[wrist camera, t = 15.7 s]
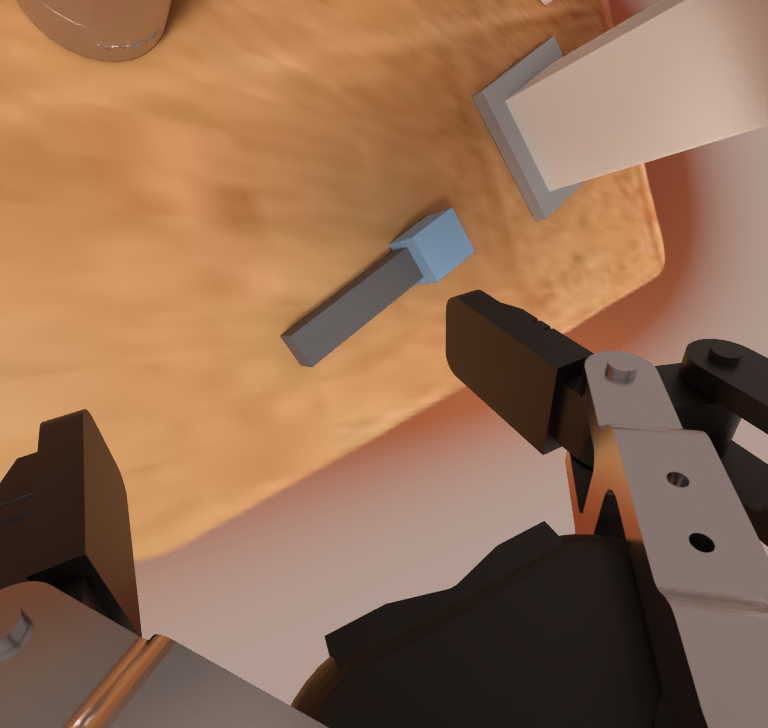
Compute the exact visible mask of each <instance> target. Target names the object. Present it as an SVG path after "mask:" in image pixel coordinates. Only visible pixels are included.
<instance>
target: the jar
mask: <svg viewBox="0 0 768 728" xmlns="http://www.w3.org/2000/svg"><path fill="white" fill-rule="evenodd" d="M540 1H541V2H542V3H543V4H544V5H547V4H549V3H550V2H552V1H553V0H540Z"/></svg>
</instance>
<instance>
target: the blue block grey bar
mask: <svg viewBox="0 0 768 728" xmlns="http://www.w3.org/2000/svg"><path fill="white" fill-rule="evenodd" d="M389 246H390V247H391V249H392V252H391V253H390V254H388V255H387V256H386V257H384V258H383V259H382V260H380V261H379V262H378V263H376V264H375V265H374V266H372V267H371V268H370V269H368V270H367V271H366V272H364V273H363V274H362V275H360V276H359V277H358V278H356V279H355V280H354V281H353V282H351V283H350V284H349V285H347V286H346V287H345V288H343V289H342V290H341V291H339V292H338V293H337V294H335V295H334V296H333V297H331V298H330V299H329V300H327V301H326V302H325V303H323V304H322V305H321V306H319V307H318V308H317V309H316V310H314V311H313V312H312V313H310V314H309V315H308V316H306V317H305V318H304V319H302V320H301V321H300V322H298V323H297V324H296V325H294V326H293V327H292V328H290V329H289V330H288V331H286V332H285V333H284V334H283V335H281V336H280V337H281V338H282V339H283V341H284V342H285V344H286V345H287V346H288V348H289V349H290V351H291V352H292V353H293V355H294V356H295V358H296V359H297V360H298V362H299V363H300V365H301V366H307V367H313V366H314V365H315V364H317V363H318V362H319V361H320V360H322V359H323V358H324V357H325V356H327V355H328V354H329V353H330V352H332V351H333V350H334V349H335V348H336V347H338V346H339V345H340V344H341V343H343V342H344V341H345V340H346V339H348V338H349V337H350V336H351V335H353V334H354V333H355V332H356V331H358V330H359V329H360V328H361V327H362V326H364V325H365V324H366V323H367V322H369V321H370V320H371V319H372V318H374V317H375V316H376V315H377V314H379V313H380V312H381V311H382V310H384V309H385V308H386V307H387V306H388V305H390V304H391V303H392V302H393V301H395V300H396V299H397V298H398V297H400V296H401V295H402V294H403V293H405V292H406V291H407V290H408V289H409V288H411V287H412V286H414V285H421V284H428V283H435V282H438V281H440V280H441V279H442V278H443V277H444V276H446V275H447V274H448V273H449V272H450V271H452V270H453V269H454V268H455V267H457V266H458V265H459V264H460V263H461V262H463V261H464V260H465V259H466V258H467V257H469V256H470V255H471V254H472V253H474V252H475V250H474V248H473V246H472V244H471V242H470V240H469V239H468V237H467V235H466V233H465V231H464V229H463V227H462V225H461V223H460V221H459V219H458V217H457V215H456V214H455V212H454V210H453V208H452V207H451V208H448V209H445V210H443V211H440V212H437V213H434V214H431V215H428V216H426V217H425V218H423V219H422V220H421V221H419V222H418V223H417V224H415V225H414V226H413V227H411V228H410V229H409V230H407V231H406V232H405V233H403V234H402V235H401V236H399V237H398V238H397V239H395V240H394V241H393V242H391V243H390V244H389Z"/></svg>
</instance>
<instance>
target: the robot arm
mask: <svg viewBox="0 0 768 728" xmlns="http://www.w3.org/2000/svg"><path fill="white" fill-rule="evenodd" d="M17 1H18V3H19V4H20V6H21V8H22V9H23V11H24V12H25V13H26V15H27V16H28V17H29V18H30V19H31V21H32V22H33V23H34V24H35V25H36V26H37V27H38V28H39V29H40V30H41V31H42V32H44V33H45V34H46V35H47V36H48V37H49V38H50V39H52V40H53V41H55V42H56V43H58V44H60V45H61V46H63V47H64V48H66V49H68V50H70V51H72V52H74V53H77V54H79V55H81V56H84V57H87V58H91V59H95V60H99V61H112V62H119V61H125V60H131V59H134V58H136V57H139V56H141V55H143V54H145V53H146V52H148V51H149V50H150V49H151V48H153V47H154V46H155V45H156V43H157V42H158V40H159V39H160V38H161V36H162V34H163V31H164V29H165V26H166V23H167V18H168V14H169V9H170V5H171V1H172V0H17ZM446 358H447V361H448V364H449V367H450V369H451V370H452V372H453V373H454V375H455V376H456V377H457V378H459V379H460V380H461V381H462V382H463V383H464V384H465V385H466V386H467V387H468V388H470V389H471V390H472V391H473V392H474V393H475V394H476V395H477V396H478V397H479V398H481V399H482V400H483V401H484V402H485V403H486V404H487V405H488V406H489V407H491V408H492V409H493V410H494V411H495V412H496V413H497V414H498V415H499V416H501V417H502V418H503V419H504V420H505V421H506V422H507V423H508V424H509V425H510V426H512V427H513V428H514V429H515V430H516V431H517V432H518V433H519V434H520V435H521V436H523V437H524V438H525V439H526V440H527V441H528V442H529V443H530V444H531V445H532V446H534V447H535V448H536V449H537V450H538V451H539V452H540V453H541V454H543V455H544V454H546V453H548V452H551V451H553V450H555V449H557V448H559V447H562V446H563V447H564V448H565V449H566V450H567V454H566V459H565V464H566V471H567V478H568V484H569V491H570V498H571V504H572V511H573V518H574V524H575V534H572V535H561V536H558V535H557V534H556V533H555V532H554V531H553V529H552V528H551V527H550V526H549V525H548V524H547V523H546V522H545V521H544V522H542V523H540V524H538V525H536V526H534V527H532V528H530V529H528V530H526V531H524V532H522V533H521V534H519V535H517V536H515V537H513V538H511V539H509V540H507V541H505V542H503V543H501V544H500V545H498V546H497V547H495V548H494V549H493V550H492V551H491V552H490V553H489V554H488V555H487V556H486V557H485V558H484V559H483V560H482V561H481V562H480V563H479V564H478V565H477V566H476V567H475V568H474V569H473V570H472V571H471V572H470V573H469V574H467V576H465V577H464V578H463V579H462V580H461V581H460V582H459V583H458V584H457V585H456V586H454V587H452V588H450V589H447V590H443V591H439V592H434V593H430V594H426V595H422V596H418V597H413V598H409V599H405V600H401V601H396V602H392V603H388V604H385V605H383V606H382V607H379V608H377V609H375V610H373V611H372V612H370V613H368V614H366V615H364V616H362V617H360V618H358V619H356V620H354V621H353V622H351V623H349V624H347V625H345V626H343V627H341V628H339V629H337V630H335V631H334V632H332V633H330V634H328V635H326V636H325V640H326V644H327V648H328V652H329V656H330V657H329V658H328V659H327V660H326V661H325V662H324V663H323V664H321V665H320V666H319V667H318V668H317V670H316V671H315V672H314V673H313V674H312V676H311V677H310V678H309V679H308V680H307V681H306V682H305V684H304V685H303V687H302V688H301V690H300V691H299V693H298V694H297V696H296V697H295V699H294V700H293V702H292V704H291V706H289V705H288V704H286V703H284V702H282V701H281V700H279V699H277V698H275V697H273V696H272V695H270V694H268V693H266V692H264V691H262V690H261V689H259V688H257V687H256V686H254V685H252V684H250V683H248V682H247V681H245V680H243V679H241V678H239V677H238V676H236V675H234V674H233V673H231V672H229V671H227V670H226V669H224V668H222V667H220V666H218V665H217V664H215V663H213V662H211V661H209V660H208V659H206V658H204V657H202V656H201V655H199V654H197V653H195V652H193V651H192V650H190V649H188V648H186V647H185V646H183V645H181V644H179V643H178V642H176V641H174V640H172V639H170V638H168V637H166V636H163V635H158V634H155V635H153V636H152V637H151V639H150V640H146V639H143V638H142V633H141V624H140V615H139V605H138V596H137V587H136V578H135V569H134V559H133V550H132V540H131V531H130V522H129V513H128V503H127V495H126V490H125V486H124V482H123V479H122V476H121V474H120V471H119V469H118V466H117V464H116V462H115V461H114V459H113V457H112V455H111V453H110V451H109V449H108V447H107V445H106V443H105V441H104V439H103V437H102V435H101V433H100V431H99V429H98V427H97V425H96V424H95V422H94V420H93V418H92V416H91V414H90V413H89V412H88V411H87V410H86V409H84V410H80V411H77V412H74V413H71V414H67V415H64V416H61V417H57V418H54V419H51V420H48V421H44V422H42V423H41V424H40V431H39V442H38V452H36V453H33V454H30V455H27V456H24V457H20V458H17V460H16V461H15V462H14V464H13V465H12V467H11V468H10V470H9V471H8V472H7V474H6V475H5V477H4V478H3V480H2V481H1V483H0V728H768V557H767V555H766V553H765V551H764V548H763V546H762V544H761V542H760V541H762V542H763V543H764V544H765V545H767V546H768V464H766V463H765V462H763V461H762V460H760V459H759V458H757V457H756V456H755V455H753V454H751V453H750V452H749V451H747V450H746V449H744V448H743V447H741V446H740V445H738V444H736V443H735V442H734V441H732V438H733V435H734V433H735V431H736V429H737V427H738V424H739V422H740V420H741V418H743V419H744V420H746V421H747V422H749V423H751V424H752V425H754V426H756V427H757V428H759V429H760V430H762V431H764V432H765V433H767V434H768V358H766V357H764V356H762V355H760V354H758V353H757V352H755V351H753V350H750V349H749V348H746V347H744V346H742V345H739V344H736V343H733V342H729V341H725V340H718V339H702V340H697V341H694V342H692V343H690V344H689V345H688V346H687V348H686V351H685V354H684V357H683V360H682V363H677V364H669V365H661V366H653V365H652V364H651V363H650V362H649V361H647V360H645V359H644V358H641V357H639V356H637V355H634V354H630V353H626V352H621V351H604V352H599V353H596V354H594V353H592V352H590V351H589V350H587V349H585V348H584V347H582V346H581V345H579V344H578V343H576V342H574V341H572V340H571V339H569V338H568V337H566V336H565V335H563V334H561V333H560V332H558V331H557V330H555V329H551V328H550V326H549V325H547V324H545V323H544V322H542V321H538V319H537V318H536V317H534V316H532V315H531V314H529V313H528V312H526V311H524V310H523V309H520V308H517V307H514V306H511V305H507V304H504V303H500V302H499V301H497V300H495V299H494V298H492V297H491V296H489V295H488V294H486V293H484V292H483V291H481V290H475V291H471V292H468V293H465V294H462V295H458V296H455V297H452V298H450V299H449V300H448V302H447V306H446Z"/></svg>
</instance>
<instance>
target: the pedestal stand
mask: <svg viewBox="0 0 768 728" xmlns="http://www.w3.org/2000/svg"><path fill="white" fill-rule="evenodd" d="M472 98H473V100H474V102H475V104H476V106H477V108H478V110H479V112H480V114H481V116H482V118H483V120H484V122H485V124H486V125H487V127H488V129H489V131H490V133H491V135H492V137H493V139H494V141H495V143H496V145H497V147H498V149H499V151H500V153H501V155H502V157H503V159H504V161H505V163H506V164H507V166H508V168H509V170H510V172H511V174H512V176H513V178H514V180H515V182H516V184H517V186H518V188H519V190H520V192H521V194H522V196H523V198H524V200H525V201H526V203H527V205H528V207H529V209H530V211H531V213H532V215H533V217H534V219H535V221H540V220H544V219H547V218H548V217H549V216H550V215H551V214H552V213H553V212H554V211H555V210H556V209H557V208H558V207H559V206H560V205H561V204H562V203H563V202H564V201H565V200H566V199H568V198H569V197H570V196H571V195H572V194H573V193H574V192H575V191H576V190H577V189H578V188H579V187H580V186H581V185H582V184H583V183H584V182H585V181H586V180H589V179H593V178H596V177H599V176H603V175H606V174H609V173H612V172H616V171H619V170H622V169H626V168H629V167H632V166H636V165H639V164H642V163H645V162H649V161H652V160H655V159H658V158H662V157H665V156H668V155H672V154H675V153H678V152H682V151H685V150H688V149H691V148H695V147H698V146H701V145H705V144H708V143H711V142H715V141H718V140H721V139H725V138H728V137H731V136H734V135H737V134H741V133H744V132H747V131H751V130H754V129H757V128H760V127H764V126H767V125H768V0H659V1H658V2H656V3H654V4H653V5H651V6H649V7H647V8H646V9H644V10H642V11H641V12H639V13H637V14H635V15H634V16H632V17H630V18H629V19H627V20H625V21H624V22H622V23H620V24H618V25H617V26H615V27H613V28H611V29H610V30H608V31H606V32H605V33H603V34H601V35H599V36H598V37H596V38H594V39H593V40H591V41H589V42H587V43H586V44H584V45H582V46H581V47H579V48H577V49H576V50H574V51H572V52H570V53H569V54H567V55H565V56H564V57H563V54H562V52H561V50H560V47H559V45H558V43H557V40H556V38H555V36H553V37H551V38H550V39H548V40H547V41H545V42H544V43H542V44H541V45H540V46H538V47H537V48H536V49H534V50H533V51H532V52H530V53H529V54H528V55H527V56H525V57H524V58H523V59H521V60H520V61H519V62H517V63H516V64H515V65H514V66H512V67H511V68H510V69H508V70H507V71H506V72H504V73H503V74H502V75H501V76H499V77H498V78H497V79H495V80H494V81H493V82H491V83H490V84H489V85H488V86H486V87H485V88H484V89H482V90H481V91H480V92H478V93H477V94H476V95H475V96H473V97H472Z"/></svg>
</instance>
